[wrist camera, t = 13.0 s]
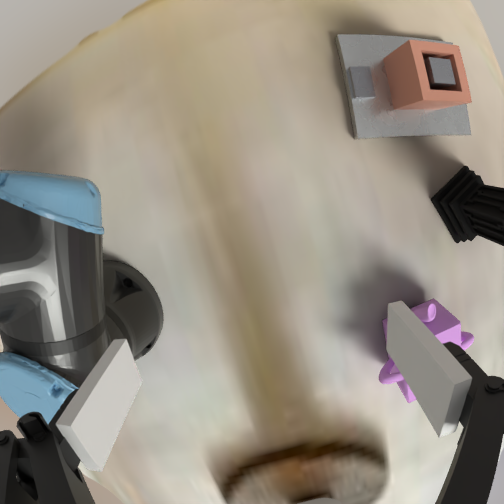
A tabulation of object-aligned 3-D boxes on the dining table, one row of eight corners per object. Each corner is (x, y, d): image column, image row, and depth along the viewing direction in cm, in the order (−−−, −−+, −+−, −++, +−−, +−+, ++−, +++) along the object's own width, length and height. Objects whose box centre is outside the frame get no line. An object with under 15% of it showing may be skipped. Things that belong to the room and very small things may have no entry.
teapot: (348, 349, 45) (368, 395, 35) (400, 275, 42) (436, 307, 32) (413, 379, 47) (438, 419, 37) (460, 316, 44) (496, 348, 34)
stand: (354, 139, 37) (382, 133, 28) (334, 38, 34) (355, 8, 25) (465, 135, 37) (506, 133, 27) (447, 45, 33) (483, 27, 24)
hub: (393, 109, 35) (423, 100, 27) (383, 58, 33) (409, 39, 25) (437, 109, 34) (471, 102, 27) (427, 61, 33) (458, 45, 25)
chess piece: (486, 208, 39) (582, 240, 20) (455, 242, 41) (547, 290, 22) (464, 165, 38) (566, 179, 19) (430, 199, 39) (531, 230, 20)
